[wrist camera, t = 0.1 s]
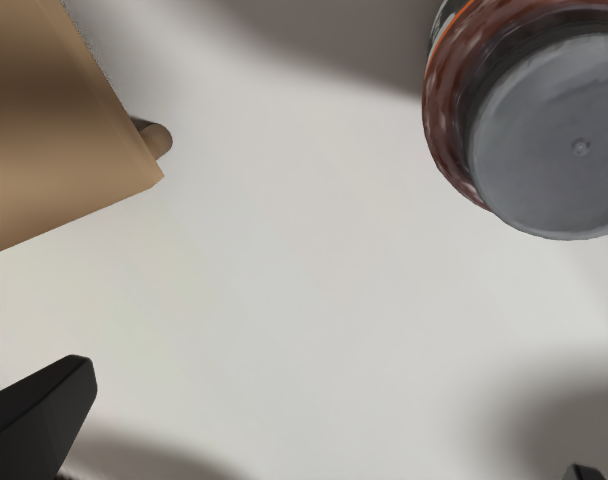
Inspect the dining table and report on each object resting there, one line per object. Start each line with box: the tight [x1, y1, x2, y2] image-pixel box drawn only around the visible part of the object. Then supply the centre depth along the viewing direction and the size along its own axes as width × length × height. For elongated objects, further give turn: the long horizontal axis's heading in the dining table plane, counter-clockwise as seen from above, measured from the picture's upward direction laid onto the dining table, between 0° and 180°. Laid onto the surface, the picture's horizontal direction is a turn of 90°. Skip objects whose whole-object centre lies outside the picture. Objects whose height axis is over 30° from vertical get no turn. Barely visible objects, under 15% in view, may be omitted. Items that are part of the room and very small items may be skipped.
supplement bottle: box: [422, 0, 608, 241], centre depth 14 cm, size 6×6×11 cm
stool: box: [0, 0, 172, 251], centre depth 23 cm, size 10×10×4 cm
